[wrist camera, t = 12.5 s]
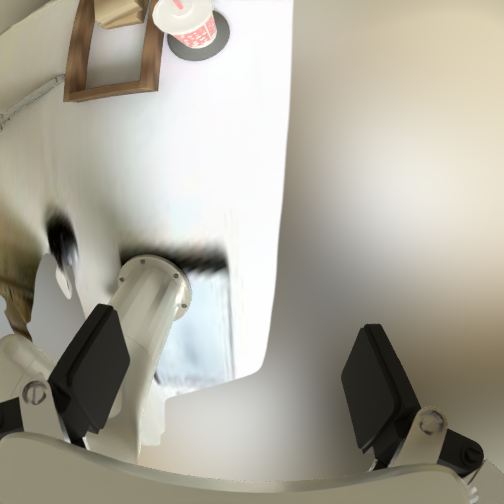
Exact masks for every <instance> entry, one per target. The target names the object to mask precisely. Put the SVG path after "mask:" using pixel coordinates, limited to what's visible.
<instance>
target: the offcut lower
mask: <svg viewBox="0 0 504 504" xmlns="http://www.w3.org/2000/svg"><path fill="white" fill-rule="evenodd" d="M148 3H149V0H142V5H143V10H140V11H138V12H136V13H133V14H131V15H128V16H126V17H124V18H122V19H119V20H117V21H115V22H113V23H111V24H109V25H107V26H105V25H103V24H101V23H99V24H98V25H99V26H101V27H103V28H105V29H112V28H117V27H122V26H128V25H134V24H141V23H144V19H145V15H146V11H147V7H148Z"/></svg>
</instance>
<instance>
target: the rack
mask: <svg viewBox="0 0 504 504" xmlns="http://www.w3.org/2000/svg"><path fill="white" fill-rule="evenodd" d="M158 1H159V0H151V5H150V10H149V15H148V21H147V27H146V33H145V40H144V47H143V55H142V64H141V74H140V81H134V82H127V83H120V84H114V85H108V86H102V87H97V88H92V89H87V90H85V83H86V73H87V64H88V56H89V50H90V43H91V37H92V32H93V27H94V22H95V8H94V0H80V2H79V5H78V9H77V13H76V17H75V22H74V26H73V31H72V36H71V41H70V47H69V53H68V60H67V67H66V76H65V86H64V99H63V102H83V101H88V100H93V99H99V98H105V97H111V96H118V95H125V94H133V93H142V92H153V91H158V85H159V73H160V63H161V54H162V46H163V38H164V32H163V31H161V30H160V29H159V28H158V27H157V26H156V25H155V24H154V21H153V16H152V14H153V10H154V7H155V5H156V4H157V2H158Z"/></svg>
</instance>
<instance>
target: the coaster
mask: <svg viewBox="0 0 504 504" xmlns="http://www.w3.org/2000/svg"><path fill="white" fill-rule="evenodd" d="M212 13H213V17H214V21H215V25H216V29H217V34H216V38H215V39H214V40H213V42H212V43H210V44H209V45H207V46H206V47H202V48H191V47H188V46H186V45H185V44H183V43H182V42H181V41H179V40H178V39H177V38H175V37H174V36H172V35H171V34H168V45H169V47H170V49H171V51H172V52H173V53H174V54H175V55H176V56H178V57H179V58H181V59H184V60H188V61H201V60H205V59H208V58H211V57H213V56H214V55H216V54H217V53H219V52H220V51H221V50H222V49H223V48H224V47H225V45H226V44H227V41H228V39H229V34H230V30H229V26H228V23H227V21H226V20H225V18H224V17H223V16H222V15H220V14H219V13H217V12H215V11H212Z"/></svg>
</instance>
